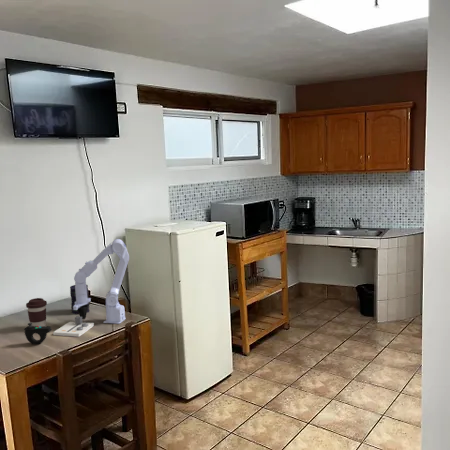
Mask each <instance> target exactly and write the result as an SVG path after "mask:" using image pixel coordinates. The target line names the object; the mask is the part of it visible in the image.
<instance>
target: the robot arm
mask: <svg viewBox="0 0 450 450" xmlns="http://www.w3.org/2000/svg"><path fill="white" fill-rule="evenodd" d="M128 251H129V250H128V249H127V245H126V244H125V242H124V240H122V239H120V238H115V239H114V240H113V241H112V242H110V243H109V244H108V245H107V246H105V247H104V248H103V249H102V251H101V252H99V254H98V255H97V256H96V257H95V258H94V259H93V260H89V261H85V263H84V265H83V266H82V267H81V268H79V269H78V271H76V273H75V274H74V276H73V279H74V282H75V283H74V285H76V286H75V291H76V302H74V303H75V305H74V306H73V310H77V311H78V313H79V314H78V316H80V317H82V320H85V319H86V317H87V313H88V312H87V310H88V307H89V308H90V304H89V305H87V304H88V302H89V303H90V302H91V299H92V298H91V297H88V298H87V285H88V284H87V278H89V277H90V276H91V275H92V274H93V273H94V272H95V271H96V270H97V269H98V265H99V264H100V263H101V262H102V261H104V259H105V258H107V256H108V255H109V256H110V255H113V254H115V255H117V257H118V258H119V261H118V265H117V267H116V270H115V274H114V277H113V280H112V283H111V286H110V288H109V290H108V292H107V293H106V296H105V318H106V319H105V320H104V321H103V324H117V325H118V324H121V323H122V322H124V321H125V320H126V319H127V318H126V311H125V309H126V308H125V306H124V305H122V304H120V302H119V293H120V289H121V285H122V283H123V280H124V276H125V274H126V270H127V266H128V264H129V261H130V254H129V252H128Z"/></svg>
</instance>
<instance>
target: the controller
mask: <svg viewBox="0 0 450 450" xmlns="http://www.w3.org/2000/svg"><path fill="white" fill-rule="evenodd" d="M27 325H28V326H26V327H24V335H25V338H26V340H27V341H28V342H29V343H30V344H31V345H32V344H34V345H38V344H41V343H43V342H44V341H45V340H46V338H47V336H48V334H49V333H50V332H51V331H52V330H53V329H52V327H51V326H49V325H46V326H32V323H30V322H28V323H27ZM34 334H36V335H38V336H39V339H35V338H34Z"/></svg>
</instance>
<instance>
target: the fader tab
mask: <svg viewBox="0 0 450 450" xmlns="http://www.w3.org/2000/svg"><path fill="white" fill-rule="evenodd" d="M74 322H75V324H82V323H84V322H83V319H82V317H80V315H76V316H75V317H74Z"/></svg>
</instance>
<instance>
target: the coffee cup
mask: <svg viewBox="0 0 450 450" xmlns="http://www.w3.org/2000/svg"><path fill="white" fill-rule="evenodd" d="M47 305H48V303H47V300H45V299H44V298H42V297H36V298H32V299H29V301H28V302H27V303H26V304H25V306H26V307H25V308H27V315H28V321H29V323H32V326H47Z"/></svg>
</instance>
